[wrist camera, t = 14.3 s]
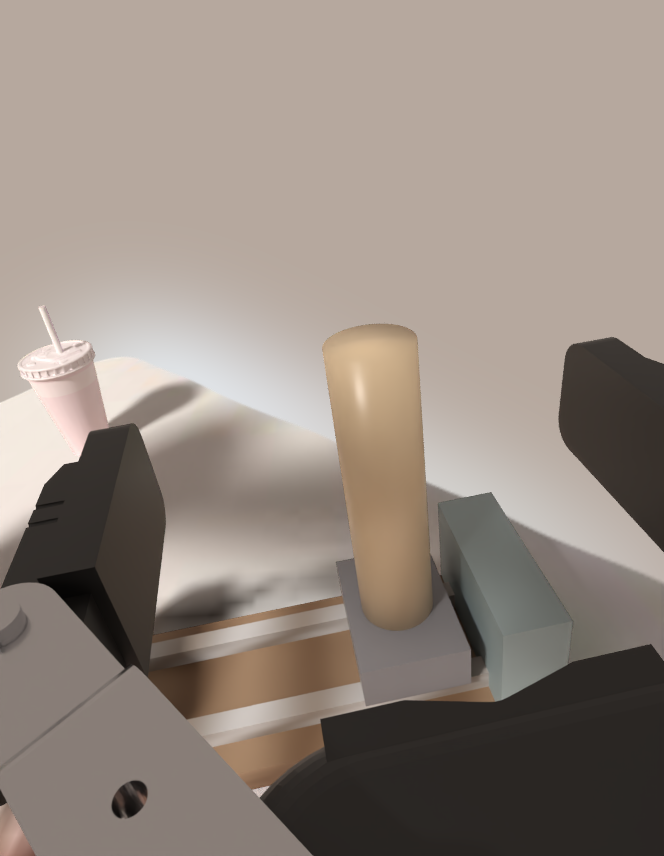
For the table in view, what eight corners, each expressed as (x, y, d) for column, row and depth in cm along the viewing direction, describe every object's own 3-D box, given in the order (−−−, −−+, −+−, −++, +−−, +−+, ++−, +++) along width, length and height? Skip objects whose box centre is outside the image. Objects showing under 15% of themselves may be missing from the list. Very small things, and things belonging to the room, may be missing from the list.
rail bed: (54, 833, 27) (32, 806, 25) (94, 665, 34) (78, 637, 33) (560, 720, 28) (564, 687, 27) (489, 582, 36) (490, 552, 34)
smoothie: (114, 460, 54) (57, 316, 46) (46, 468, 54) (-21, 326, 47) (133, 424, 59) (85, 290, 52) (72, 431, 59) (15, 299, 52)
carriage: (365, 706, 27) (314, 398, 18) (341, 593, 33) (293, 321, 24) (471, 683, 27) (467, 369, 19) (428, 575, 33) (410, 300, 25)
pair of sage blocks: (54, 833, 27) (-14, 747, 23) (95, 660, 35) (50, 575, 31) (560, 720, 28) (573, 621, 24) (487, 578, 36) (488, 487, 32)
